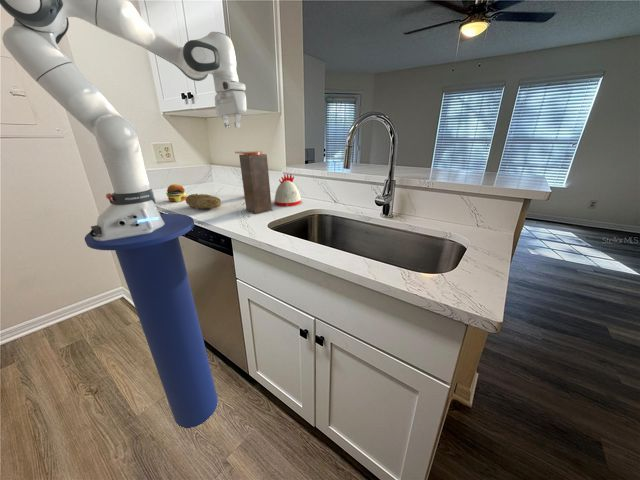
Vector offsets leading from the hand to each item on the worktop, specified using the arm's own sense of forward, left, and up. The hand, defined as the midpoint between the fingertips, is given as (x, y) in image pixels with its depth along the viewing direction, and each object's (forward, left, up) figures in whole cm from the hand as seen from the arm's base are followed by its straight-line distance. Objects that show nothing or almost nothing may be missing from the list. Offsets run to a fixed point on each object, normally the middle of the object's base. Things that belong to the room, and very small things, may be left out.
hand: (232, 127), depth 102 cm
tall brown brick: (+11, +6, -37) cm, 39 cm away
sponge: (-7, +30, -37) cm, 48 cm away
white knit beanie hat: (+29, +7, -37) cm, 48 cm away
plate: (+11, +11, -11) cm, 19 cm away
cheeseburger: (-12, +58, -37) cm, 70 cm away
